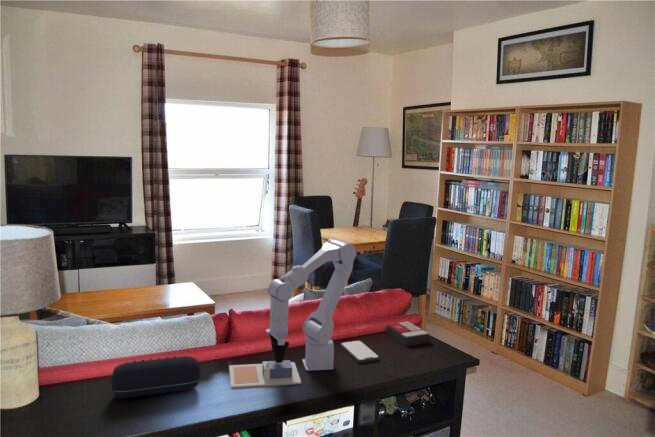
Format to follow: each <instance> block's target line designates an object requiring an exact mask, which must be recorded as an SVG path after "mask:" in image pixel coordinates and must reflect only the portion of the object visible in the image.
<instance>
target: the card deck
mask: <svg viewBox="0 0 655 437" xmlns="http://www.w3.org/2000/svg"><path fill="white" fill-rule="evenodd" d="M291 362H292V361H291V360H290V359H287V360H286V359H285V360H284V359H283V362H282V363H276V361H275V360H269V361H267V360H266V361H262V364H263V365H262V372H263V377H264V379H279V378H292V365H291Z"/></svg>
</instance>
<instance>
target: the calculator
mask: <svg viewBox="0 0 655 437" xmlns="http://www.w3.org/2000/svg"><path fill="white" fill-rule="evenodd" d="M385 332H386V333H387V334H389V335H390V336H391V337H392V338H393V339H395V340H397V341H398V342H399V343H401V344H402V345H403V346H405V347H409V346H410V345H411V346H417V345H423V344H428V343H427V342H429V343H430V333H428V332H427V331H425V330H423V329H422V328H420V327H419V326H417V325H415V324H413V322H410V321H402V322H393V323H388V324H386V325H385ZM422 343H423V344H422ZM416 344H417V345H416Z"/></svg>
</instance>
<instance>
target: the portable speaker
mask: <svg viewBox="0 0 655 437" xmlns="http://www.w3.org/2000/svg"><path fill="white" fill-rule="evenodd" d="M200 368H201V367H200V364H199V360H198V359H197V358H196V357H193V356H187V355H183V356H173V357H165V358H161V357H159V358H157V359H152V358H150V359H148V360H147V359H146V360H144V359H142V360H139V361H138V360H137V361H136V360H133V361H129V362H123V363H122V364H118V365H117V366H115V367H114V368H113V371H112V374H111V381H110V386H111V390H112V392H113V394H114V397H115V398H120V399H129V398H136V397H143V396H152V395H160V394H168V393H174V392H183V391H188V390H191V389H194V388H196V387H198V385H199V383H200V378H201V369H200Z"/></svg>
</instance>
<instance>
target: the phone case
mask: <svg viewBox="0 0 655 437" xmlns="http://www.w3.org/2000/svg"><path fill="white" fill-rule="evenodd" d="M340 347H341V348H342V349H343V350H344V351H345V352H346V353H347V354H348V355H349V356H350V357H351V358H352V359H353V360H354V361H355V362H357V363H358V364H365V363H373V362H377V361H380V356H379V355H378V354H377V353H376V352H374V350H372V349H371V348H370V347H368V346H367V345H366V344H365V343H364V342H362V340H353V341H345V342H340Z"/></svg>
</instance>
